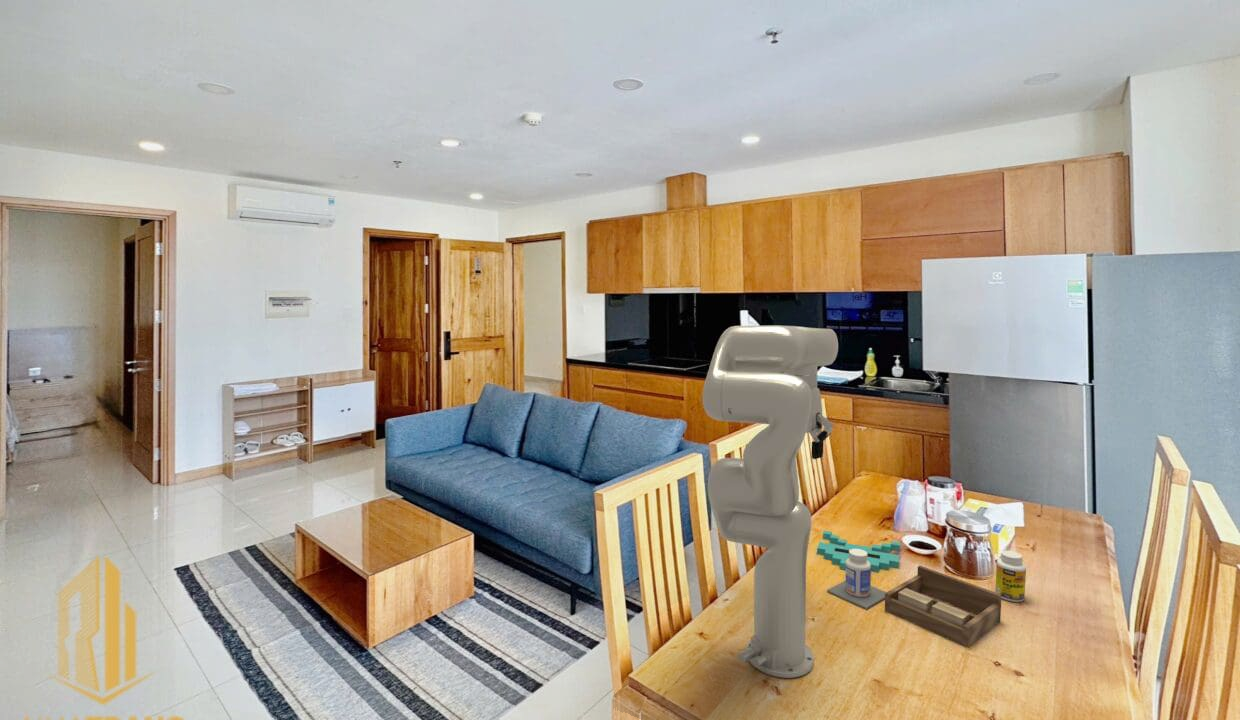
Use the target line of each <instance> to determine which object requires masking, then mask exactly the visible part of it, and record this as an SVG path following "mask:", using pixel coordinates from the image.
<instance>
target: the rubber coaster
mask: <svg viewBox="0 0 1240 720" xmlns="http://www.w3.org/2000/svg"><path fill="white" fill-rule="evenodd" d="M826 592H827V593H828V594H831V595H833V596H835V597H837V598H839V599H842V600H845V601H846V602H847V603H850V604H853V605H854V606H857V607H860V608H861V609H864V610H866V611H868V610H869V609H871V608H872V607H874V606H876V605H877V604H879V603H881V602H884V601H885V593H886V592H887V591H884V590H882V589H880V588H877V587H875V586H874V585H871V591H870V595H868V596H866V597H857V596H853V595H851V594H849V593H848V592H847V591H846V580H843V581H842V582H840V583H838V584H836V585H835V586H832V587H830V588H828V589H827V590H826Z"/></svg>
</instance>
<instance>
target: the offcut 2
mask: <svg viewBox="0 0 1240 720" xmlns="http://www.w3.org/2000/svg"><path fill="white" fill-rule="evenodd" d="M941 602H942V601H941ZM941 602H938V603H936V604H934V605H933V606H932V615H933V616H936V617H938V618H941V619H943V620H945V621H948V622H950V623H952V624H955V625H957V626H960V627H962V628H963V625H965V624H966V623H967V622H969V618H970V614H969V613H970V612H968V611H966V612H964V611H965V610H963V609H961V610H959V609H960V608H958V607H956V608H954V607H955V606H953V605H951V606H949V605H950V604H948V605H946V604H947V603H946V604H944V603H945V602H943V603H941ZM952 606H953V607H952ZM957 608H958V609H957ZM962 610H963V611H962ZM967 612H968V613H967Z"/></svg>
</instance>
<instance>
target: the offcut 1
mask: <svg viewBox="0 0 1240 720" xmlns="http://www.w3.org/2000/svg"><path fill="white" fill-rule="evenodd" d="M921 594H922V593H920V594H919V593H916V592H914V591H911V590H909V589H906V588H905V589H903V590H902V591H900V592H898V601H900V602H903V603H905V604H907V605H910V606H912V607H914V608H917V609H919V610H922V611H924V612H926V613H929V614H931V615H932V606H933V599H934V598H933V597H931V598H929V597H930V596H928V597H926V596H927V595H926V596H924V595H925V594H923V595H921ZM932 598H933V599H932Z"/></svg>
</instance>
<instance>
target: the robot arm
mask: <svg viewBox="0 0 1240 720" xmlns="http://www.w3.org/2000/svg"><path fill="white" fill-rule="evenodd" d="M838 352H839V341H838V336H837V333H836V331H834V330H833V329H831V328H819V327H817V328H816V327H805V326H796V325H778V324H777V325H734V326H730V327H728V328H727V329H725V330H724V331H723V332H722V334H721V335H720V337H719V339H718V341H717V343H716V346H715V348H714V352H713V354H712V358H711V361H710V364H709V369H708V370H707V374H706V377H705V381H704V385H703V389H702V407H703V409H704V411H705V413H706V414H707V416H708V417H709V418H710V419H711V418H712V419H713V420H716V421H718V422H719V421H720V422H731V423H744V424H745V423H746V424H747V423H748V424H763V425H767V426H766V427H765V428H763V429H762V430H761V431H759V432H758V433H757V434H755V435H754V436H753V438H752V439H751V440H750V441H749V442H748V443H747V445H746V446H745V447H744V449H743V453H742V458H738V457H736V458H735V457H723V458H720V459H718V460H716V461H715V462H714V463H713V464H712V466H711V467H710V470H709V473H708V474H709V475H708V479H707V495H708V500H709V504H710V507H711V510H712V514H713V517H714V522H715V525H716V527H717V531H718V533H719V534H720V536H721V537H722V538H723V539H724V540H726V541H728V542H730V543H731V542H732V543H736V544H742V545H747V546H755V547H761V548H764V549H766V550H765V552H763V554H761V555H760V557H759V558H758V559H757V561H756V563H755V565H754V570H753V612H754V613H753V630H754V631H753V636H751V637H750V640H748V641H747V644H746V645H745V649H743V650H742V651H740V652H738V653H737V659H738V661H739V662H740V663H741V664H745V663H748V662H749V663H750V664H751V665H752V666H753V667H754V668H756V669H757V670H759V671H761V672H762V673H764V674H765V675H769V676H772V677H776V678H784V679H785V678H786V679H791V678H798V677H799V678H800V677H801V676H804V675H806V674H808V673H809V672H811V670H812V669H813V667H814V664H815V659H814V658H815V657H814V653H813V651H812V650H811V648H810V646H808V645H807V644H806V623H807V622H806V616H807V615H806V611H807V609H806V605H807V602H806V601H807V599H806V597H807V593H806V592H807V589H806V588H807V561H808V560H807V558H808V557H807V556H808V549H809V544H810V536H811V532H812V523H813V522H812V513H811V512H810V511H811V510H810V509H809V508H808V507H807V506H806V504H804V503H802V502H800V501H799V499H800V486H799V485H800V484H799V477H798V470H797V469H798V467H797V454H798V453H799V451H800V449H801V447H802V444H803V442H804V439H805V437H806V434H810V436H811V438H812V439H813V441H812V442H811V459H813V460H818V459H821V458H823V456H824V442H825V441H826V440H827V438H828V437H830V435H831V433H832V431H833V428H834V427H835V424H834V423H833V422H831V421H830V420H829V419H828V418H826V417H825V416H823V405H822V404H823V402H822V397H821V392H820V388H818V367H822V366H823V367H824V366H829V365H832V364H833V363H834V361H836V359H837V356H838ZM822 429H823V430H822Z"/></svg>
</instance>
